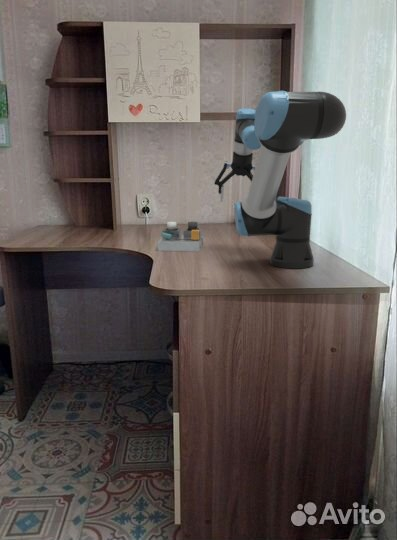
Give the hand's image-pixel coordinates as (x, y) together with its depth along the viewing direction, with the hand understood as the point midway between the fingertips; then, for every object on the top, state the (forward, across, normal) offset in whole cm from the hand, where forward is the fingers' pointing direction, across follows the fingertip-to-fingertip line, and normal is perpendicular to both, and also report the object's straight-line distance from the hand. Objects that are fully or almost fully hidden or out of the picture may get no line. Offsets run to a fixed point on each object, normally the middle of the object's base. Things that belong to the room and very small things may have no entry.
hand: (238, 202), depth 174 cm
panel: (+19, +22, +10) cm, 30 cm away
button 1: (+14, +27, +4) cm, 31 cm away
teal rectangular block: (+13, +28, +11) cm, 32 cm away
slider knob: (+13, +15, +11) cm, 23 cm away
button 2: (+13, +18, +3) cm, 23 cm away
